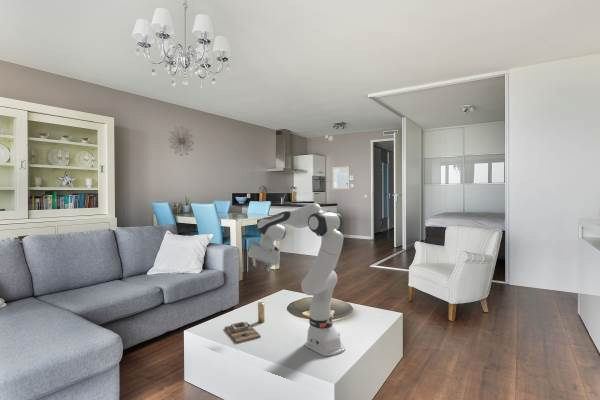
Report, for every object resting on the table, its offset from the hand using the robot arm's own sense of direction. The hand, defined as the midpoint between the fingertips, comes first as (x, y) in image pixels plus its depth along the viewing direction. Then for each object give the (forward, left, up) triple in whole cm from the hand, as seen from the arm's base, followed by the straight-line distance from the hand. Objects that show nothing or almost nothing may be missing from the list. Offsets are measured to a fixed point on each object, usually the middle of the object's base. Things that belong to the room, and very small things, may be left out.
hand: (261, 268), depth 202 cm
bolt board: (0, +13, -37) cm, 39 cm away
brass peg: (+9, -3, -37) cm, 38 cm away
